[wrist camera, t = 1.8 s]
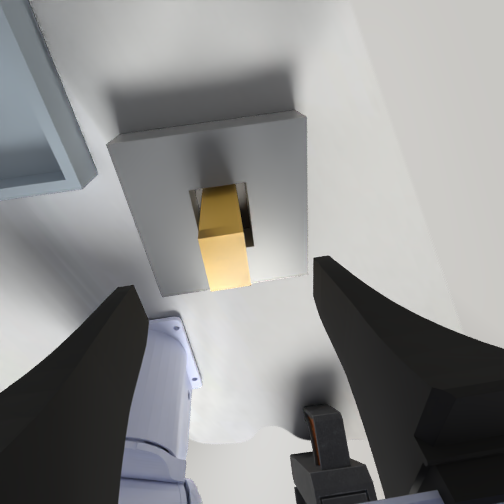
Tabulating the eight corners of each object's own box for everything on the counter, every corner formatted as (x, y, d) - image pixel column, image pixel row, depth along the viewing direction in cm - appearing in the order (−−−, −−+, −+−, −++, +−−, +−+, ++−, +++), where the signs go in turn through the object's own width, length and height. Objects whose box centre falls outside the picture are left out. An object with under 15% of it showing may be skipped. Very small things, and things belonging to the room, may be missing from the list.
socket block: (299, 254, 22) (308, 274, 20) (167, 274, 22) (162, 297, 20) (295, 110, 17) (306, 116, 15) (119, 134, 17) (106, 144, 15)
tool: (358, 401, 29) (413, 624, 22) (317, 403, 46) (341, 529, 39) (297, 409, 29) (334, 638, 22) (278, 408, 46) (296, 536, 39)
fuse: (240, 221, 20) (251, 285, 15) (211, 225, 20) (210, 291, 14) (234, 179, 19) (243, 232, 13) (203, 183, 19) (197, 239, 13)
